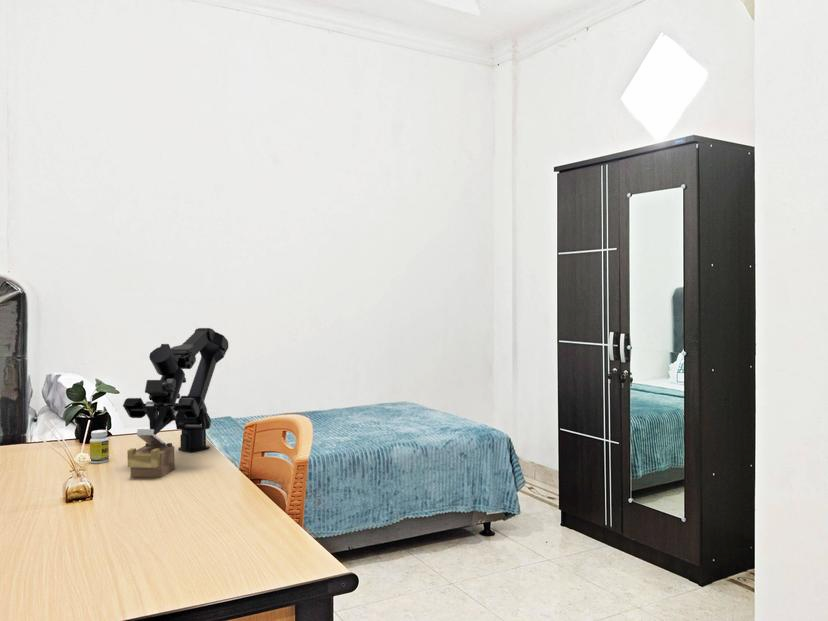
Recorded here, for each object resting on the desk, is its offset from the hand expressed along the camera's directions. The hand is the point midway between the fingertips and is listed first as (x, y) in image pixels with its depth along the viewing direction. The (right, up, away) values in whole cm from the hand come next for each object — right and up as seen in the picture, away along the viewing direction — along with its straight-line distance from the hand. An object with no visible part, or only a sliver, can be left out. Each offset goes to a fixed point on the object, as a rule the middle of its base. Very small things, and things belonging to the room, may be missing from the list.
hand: (152, 435), depth 175 cm
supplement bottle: (-19, -10, +13) cm, 25 cm away
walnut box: (0, -10, -1) cm, 10 cm away
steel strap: (0, -1, 0) cm, 1 cm away
